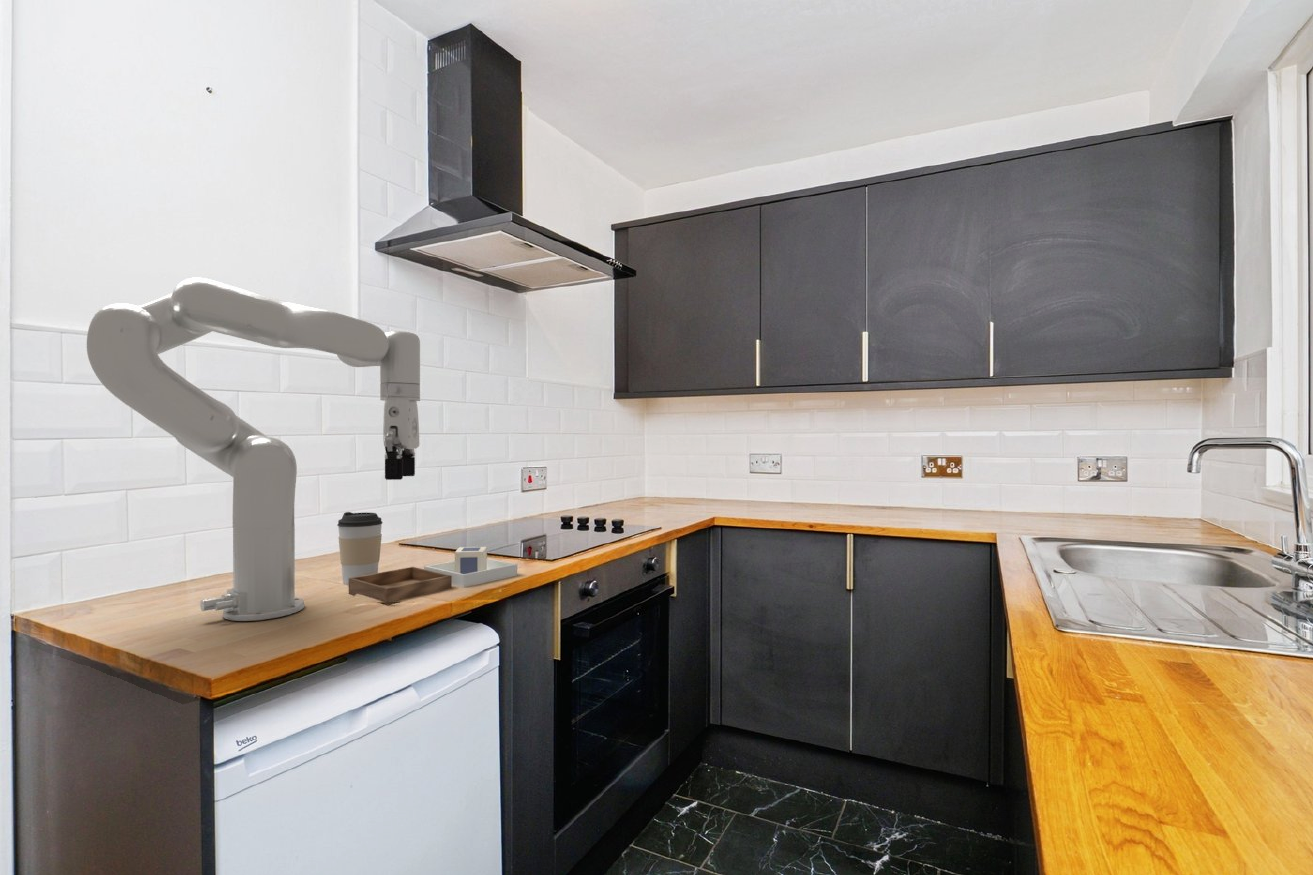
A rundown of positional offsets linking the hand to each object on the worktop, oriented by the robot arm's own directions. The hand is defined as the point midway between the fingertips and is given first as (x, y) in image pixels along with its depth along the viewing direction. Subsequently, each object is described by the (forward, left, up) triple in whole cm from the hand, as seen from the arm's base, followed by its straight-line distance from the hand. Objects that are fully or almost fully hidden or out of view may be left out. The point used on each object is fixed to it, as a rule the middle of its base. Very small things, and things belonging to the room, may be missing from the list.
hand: (400, 477), depth 131 cm
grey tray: (+16, -2, -23) cm, 28 cm away
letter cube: (+16, -2, -23) cm, 28 cm away
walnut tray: (0, 0, -23) cm, 23 cm away
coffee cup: (0, +16, -24) cm, 28 cm away
